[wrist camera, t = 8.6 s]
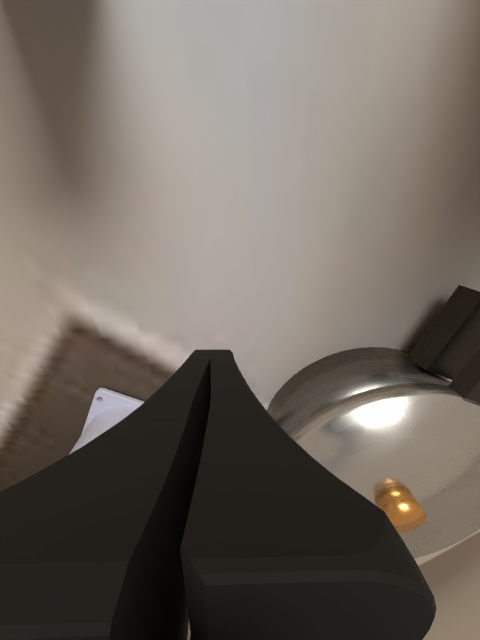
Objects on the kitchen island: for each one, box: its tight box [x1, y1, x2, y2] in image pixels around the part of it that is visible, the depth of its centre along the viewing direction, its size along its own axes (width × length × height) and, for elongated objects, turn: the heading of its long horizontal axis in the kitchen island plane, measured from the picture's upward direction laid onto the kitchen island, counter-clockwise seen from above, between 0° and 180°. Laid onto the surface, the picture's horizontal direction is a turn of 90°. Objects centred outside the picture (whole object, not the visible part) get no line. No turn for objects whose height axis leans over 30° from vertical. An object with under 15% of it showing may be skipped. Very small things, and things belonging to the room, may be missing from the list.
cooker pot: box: [267, 285, 480, 435], centre depth 21 cm, size 24×18×5 cm
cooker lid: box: [289, 349, 480, 559], centre depth 17 cm, size 25×18×3 cm
